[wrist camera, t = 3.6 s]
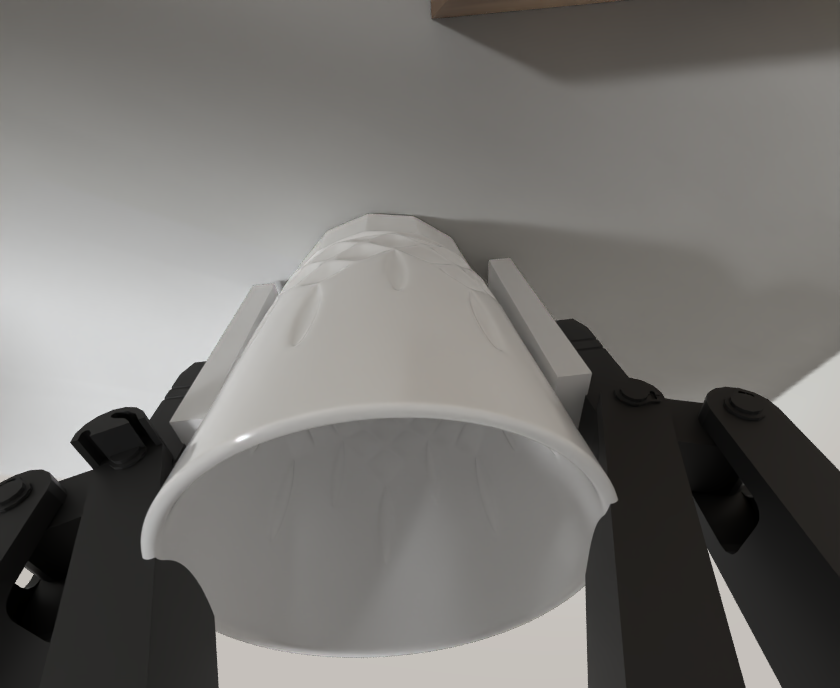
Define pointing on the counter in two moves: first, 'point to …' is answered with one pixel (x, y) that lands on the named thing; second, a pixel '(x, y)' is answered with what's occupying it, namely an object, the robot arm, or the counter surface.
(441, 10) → the walnut riser
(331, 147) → the counter surface
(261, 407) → the white cup
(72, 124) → the counter surface
